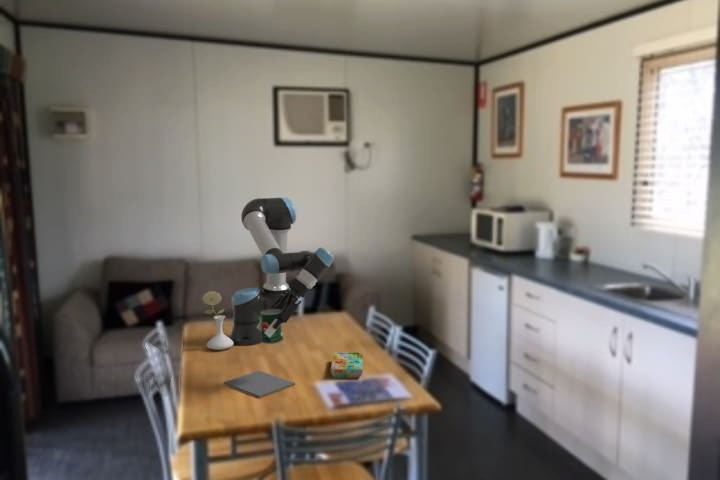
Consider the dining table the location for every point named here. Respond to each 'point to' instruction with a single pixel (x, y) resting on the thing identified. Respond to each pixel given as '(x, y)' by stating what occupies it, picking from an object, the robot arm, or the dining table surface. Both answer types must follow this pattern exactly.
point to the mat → (259, 384)
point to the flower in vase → (219, 339)
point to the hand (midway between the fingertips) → (263, 332)
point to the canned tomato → (266, 321)
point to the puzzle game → (347, 364)
